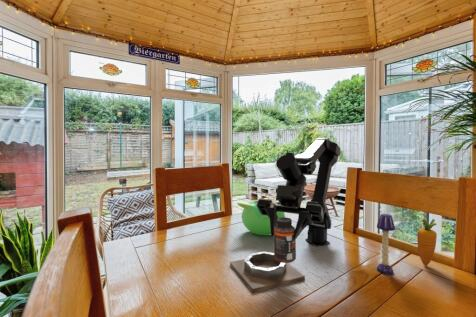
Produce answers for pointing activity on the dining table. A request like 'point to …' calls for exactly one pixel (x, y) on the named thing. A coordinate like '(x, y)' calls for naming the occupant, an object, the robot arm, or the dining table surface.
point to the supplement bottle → (284, 241)
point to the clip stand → (263, 284)
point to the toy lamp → (385, 241)
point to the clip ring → (264, 272)
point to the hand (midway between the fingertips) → (282, 237)
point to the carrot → (426, 242)
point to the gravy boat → (257, 218)
